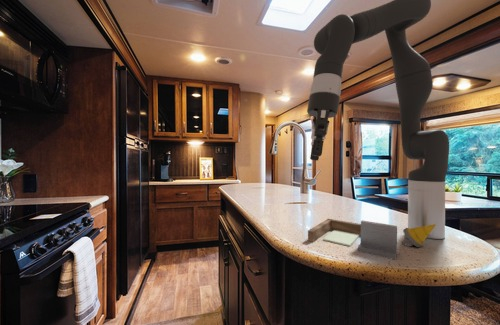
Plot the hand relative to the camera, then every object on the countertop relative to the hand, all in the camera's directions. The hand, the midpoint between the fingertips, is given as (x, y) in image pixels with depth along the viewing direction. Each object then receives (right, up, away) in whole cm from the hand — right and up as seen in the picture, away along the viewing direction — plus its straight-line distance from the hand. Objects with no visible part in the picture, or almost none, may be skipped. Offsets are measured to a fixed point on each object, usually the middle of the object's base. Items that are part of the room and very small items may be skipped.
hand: (315, 158), depth 55 cm
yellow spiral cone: (+30, -24, +5) cm, 39 cm away
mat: (+11, -24, +11) cm, 28 cm away
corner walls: (+12, -24, +10) cm, 28 cm away
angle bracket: (+16, -24, 0) cm, 29 cm away
